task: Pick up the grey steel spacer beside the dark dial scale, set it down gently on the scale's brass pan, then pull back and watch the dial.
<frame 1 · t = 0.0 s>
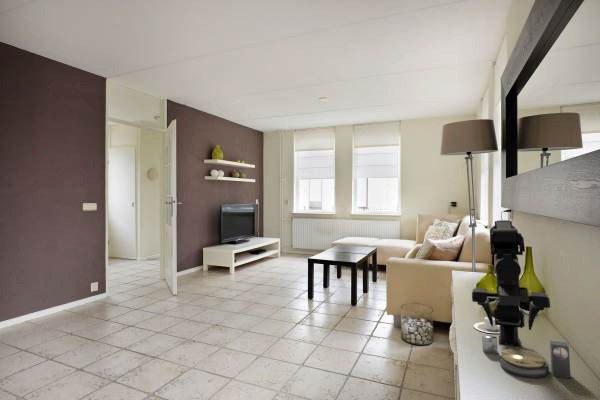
hand: (510, 327, 99), 15 cm above the table, tool pointing down, fingers open, 9 cm apart
candle holder: (490, 329, 137), on the table
steel spacer: (490, 351, 117), on the table
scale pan: (523, 358, 104), point 3 cm above the table, slide at -0.3 cm
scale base: (523, 368, 104), on the table
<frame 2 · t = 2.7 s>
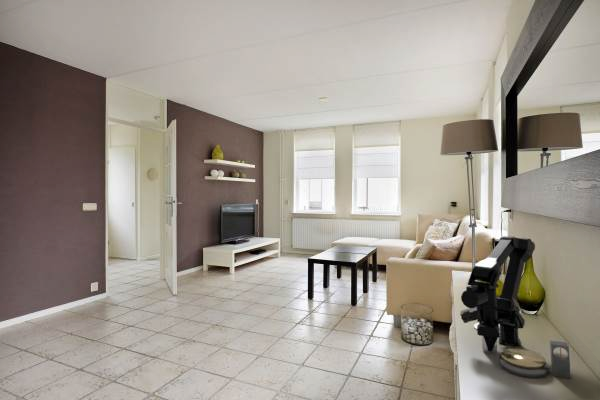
hand: (489, 348, 117), 1 cm above the table, tool pointing down, fingers closed on steel spacer, 4 cm apart
steel spacer: (490, 351, 117), on the table, touching gripper
everything else where it was.
when the fingers open (6 cm above the table, at t = 6.1 s): steel spacer drops 1 cm, resting on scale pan.
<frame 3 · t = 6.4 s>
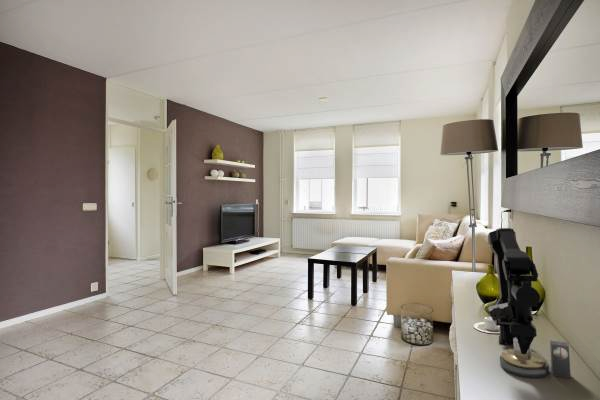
hand: (522, 348, 105), 6 cm above the table, tool pointing down, fingers open, 7 cm apart
steel spacer: (522, 356, 105), point 3 cm above the table, touching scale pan
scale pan: (523, 358, 104), point 3 cm above the table, slide at -0.4 cm, touching steel spacer
everything else where it was.
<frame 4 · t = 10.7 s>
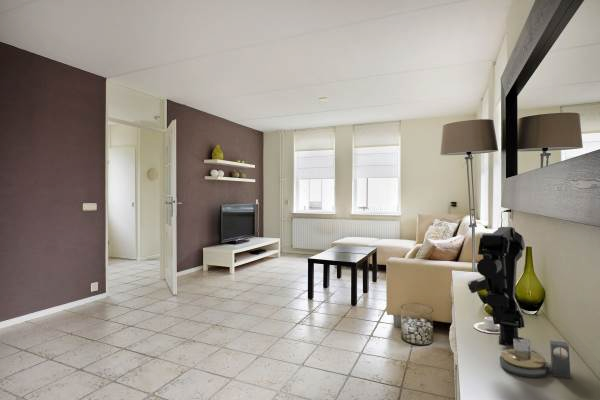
hand: (498, 318, 114), 12 cm above the table, tool pointing down, fingers open, 9 cm apart
nothing on the table moved.
at the end: steel spacer 0.1 cm off-centre on the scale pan, point 3.8 cm above the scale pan's base; steel spacer tilted 0°; steel spacer touching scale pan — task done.
